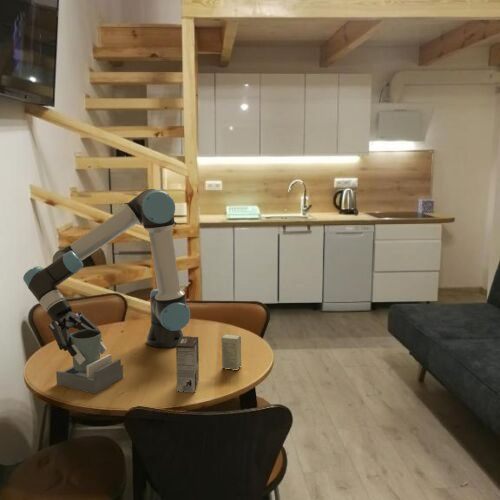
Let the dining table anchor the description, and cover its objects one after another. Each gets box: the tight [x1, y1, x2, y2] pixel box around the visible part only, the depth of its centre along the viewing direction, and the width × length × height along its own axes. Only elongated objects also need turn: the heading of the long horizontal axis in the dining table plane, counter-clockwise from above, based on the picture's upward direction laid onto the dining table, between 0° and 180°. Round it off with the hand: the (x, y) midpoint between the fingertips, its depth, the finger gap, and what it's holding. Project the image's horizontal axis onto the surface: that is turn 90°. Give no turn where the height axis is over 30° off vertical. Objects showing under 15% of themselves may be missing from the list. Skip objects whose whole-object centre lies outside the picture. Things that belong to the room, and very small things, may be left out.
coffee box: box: [175, 335, 200, 393], centre depth 161 cm, size 9×6×16 cm
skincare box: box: [221, 333, 242, 369], centre depth 177 cm, size 6×4×12 cm
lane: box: [55, 358, 124, 395], centre depth 165 cm, size 16×14×7 cm
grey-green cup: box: [70, 329, 102, 372], centre depth 164 cm, size 10×10×12 cm
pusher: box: [86, 353, 113, 379], centre depth 163 cm, size 1×11×7 cm, turn 156°
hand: (93, 356), depth 163 cm, fingers closed on grey-green cup, 10 cm apart
